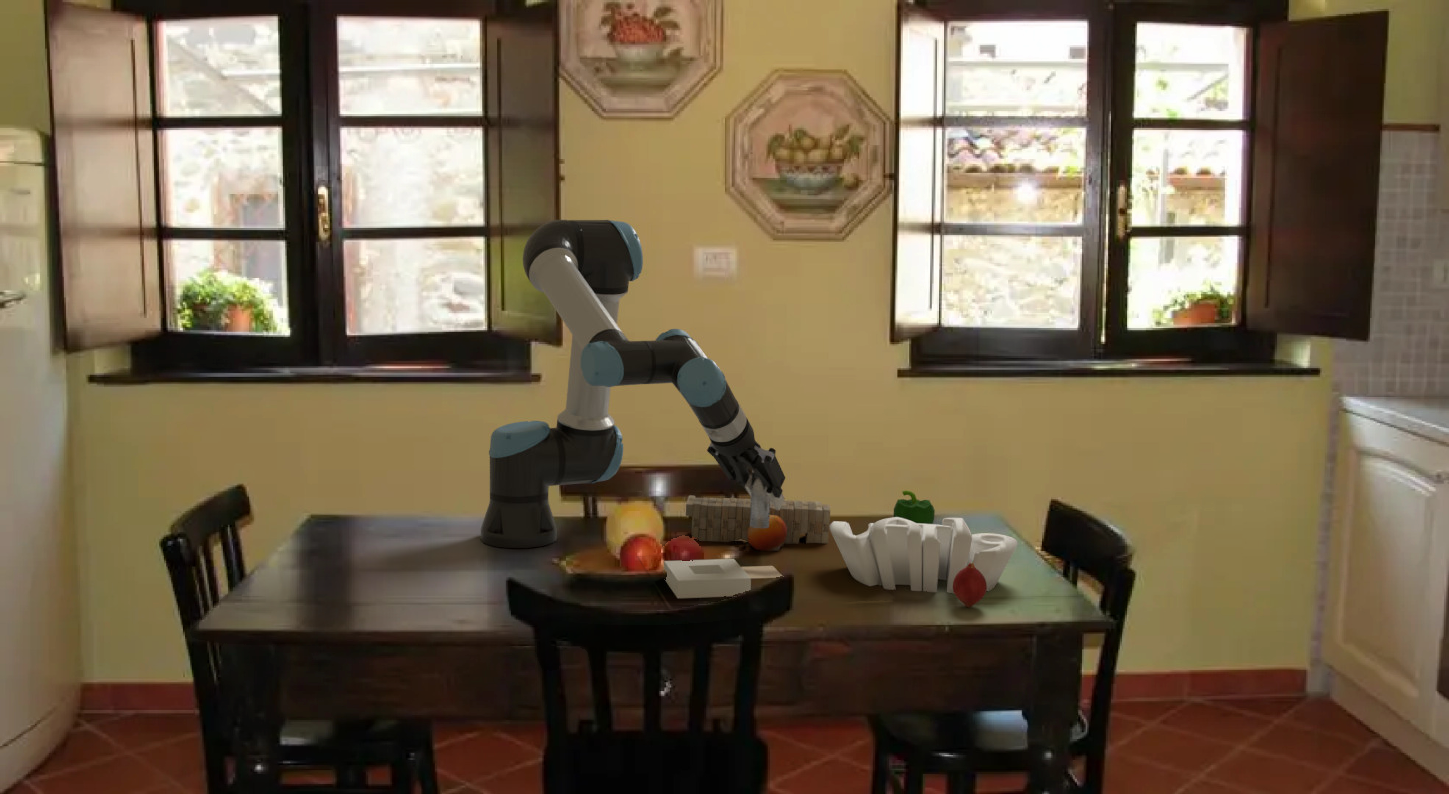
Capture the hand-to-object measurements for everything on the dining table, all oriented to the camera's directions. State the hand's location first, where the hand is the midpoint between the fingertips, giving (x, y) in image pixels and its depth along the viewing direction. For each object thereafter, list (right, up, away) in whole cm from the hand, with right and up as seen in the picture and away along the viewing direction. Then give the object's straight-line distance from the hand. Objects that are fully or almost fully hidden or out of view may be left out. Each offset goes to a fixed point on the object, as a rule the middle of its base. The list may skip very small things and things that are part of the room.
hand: (770, 502), depth 259 cm
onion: (+34, -17, -18) cm, 42 cm away
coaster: (-2, -13, -1) cm, 14 cm away
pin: (-2, -4, -3) cm, 5 cm away
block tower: (-2, -10, +26) cm, 28 cm away
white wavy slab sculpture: (+28, -15, -2) cm, 31 cm away
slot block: (-12, -15, -12) cm, 22 cm away
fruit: (0, -11, +18) cm, 21 cm away
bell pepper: (+31, -10, +30) cm, 44 cm away
